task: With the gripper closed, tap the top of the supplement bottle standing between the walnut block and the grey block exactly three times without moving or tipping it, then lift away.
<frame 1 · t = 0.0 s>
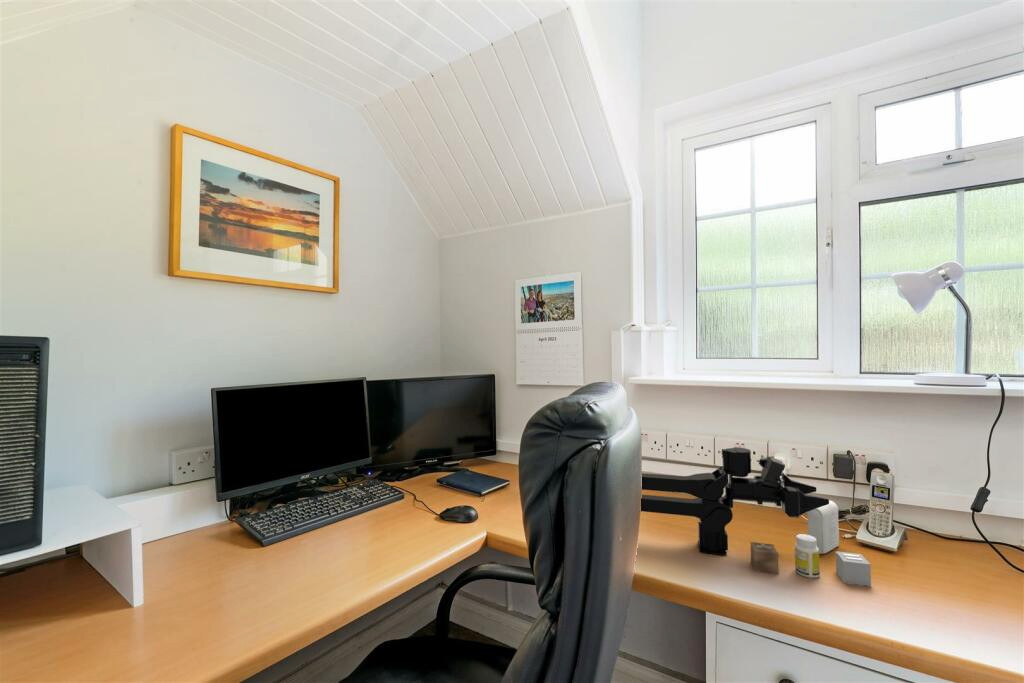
hand: (822, 495, 110), 17 cm above the table, tool horizontal, fingers open, 9 cm apart
grey block: (853, 579, 102), on the table
walnut block: (764, 568, 108), on the table
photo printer: (823, 548, 117), on the table
supplement bottle: (807, 574, 105), on the table
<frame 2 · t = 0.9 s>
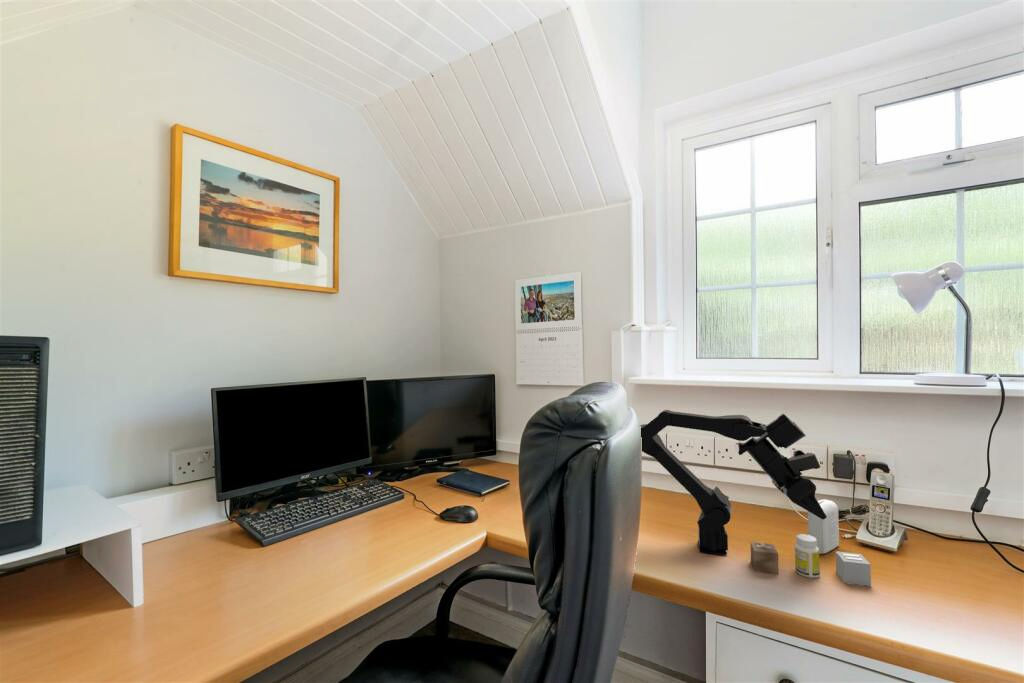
hand: (819, 513, 106), 13 cm above the table, tool tilted 40°, fingers open, 9 cm apart
nothing on the table moved.
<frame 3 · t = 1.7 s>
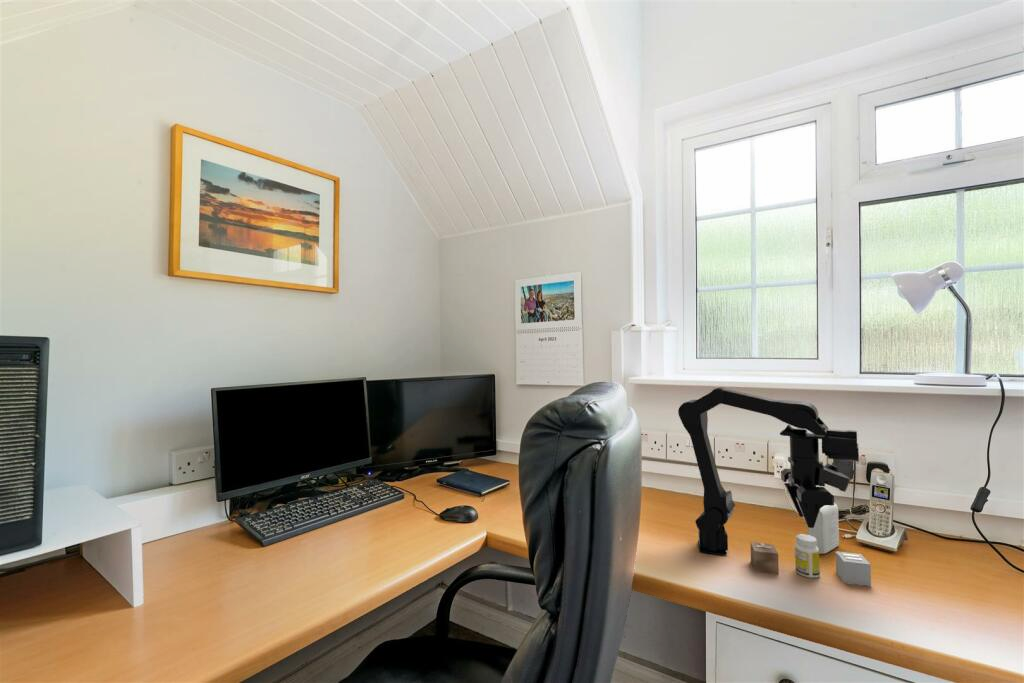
hand: (806, 521, 105), 12 cm above the table, tool pointing down, fingers open, 6 cm apart
nothing on the table moved.
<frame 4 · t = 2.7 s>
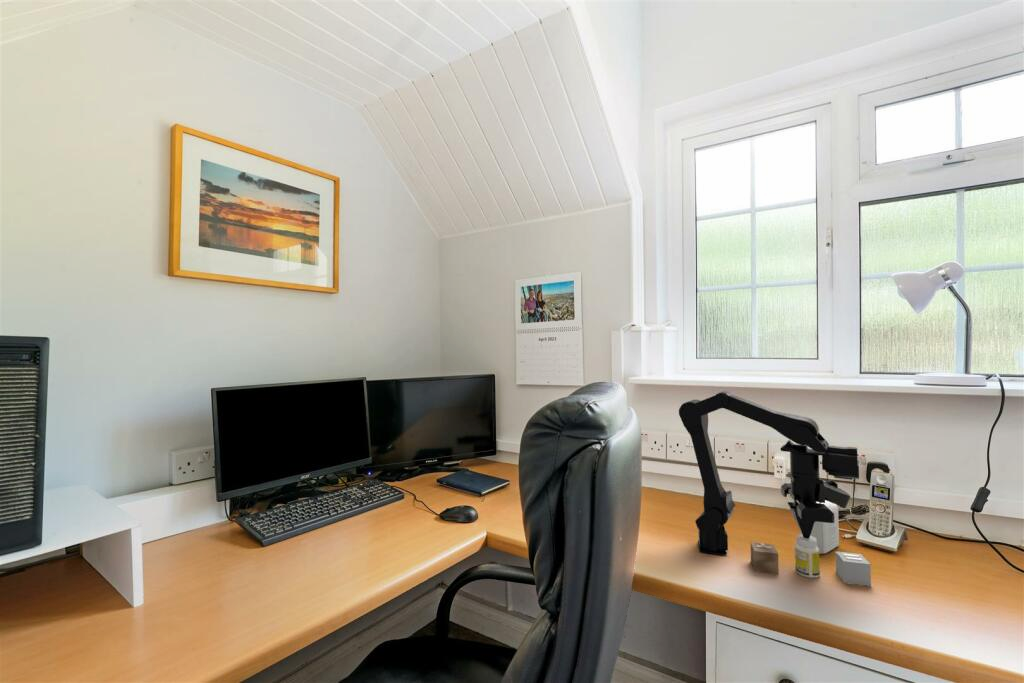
hand: (806, 537, 105), 8 cm above the table, tool pointing down, fingers closed, pressing on supplement bottle
supplement bottle: (807, 574, 105), on the table, touching gripper
everything else where it was.
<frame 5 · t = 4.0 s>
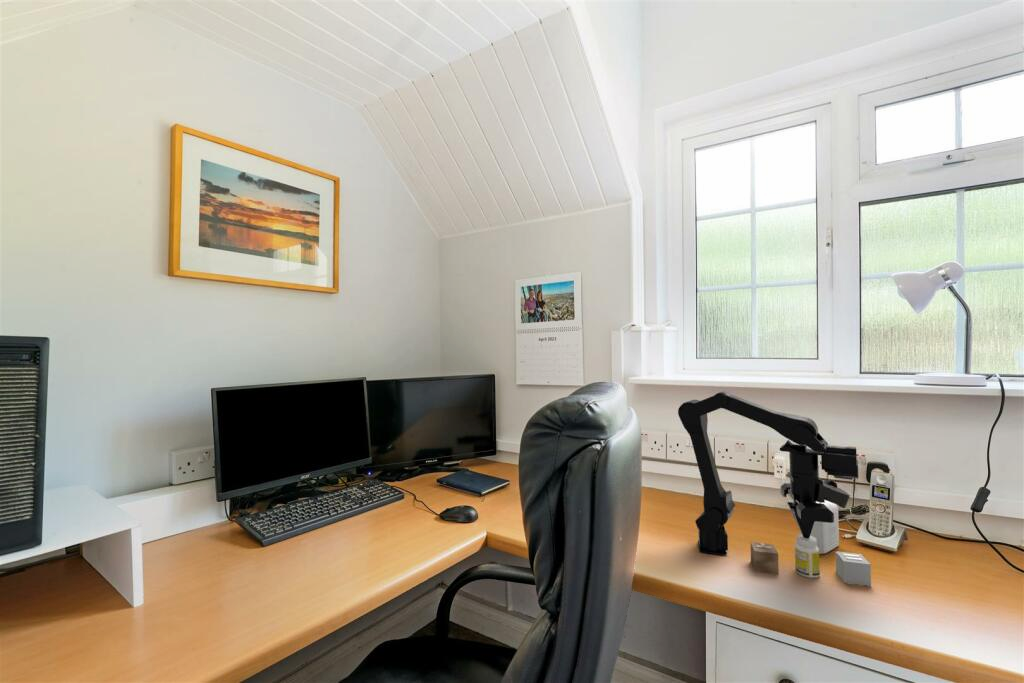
hand: (806, 537, 105), 8 cm above the table, tool pointing down, fingers closed, pressing on supplement bottle
supplement bottle: (807, 574, 105), on the table, touching gripper
everything else where it was.
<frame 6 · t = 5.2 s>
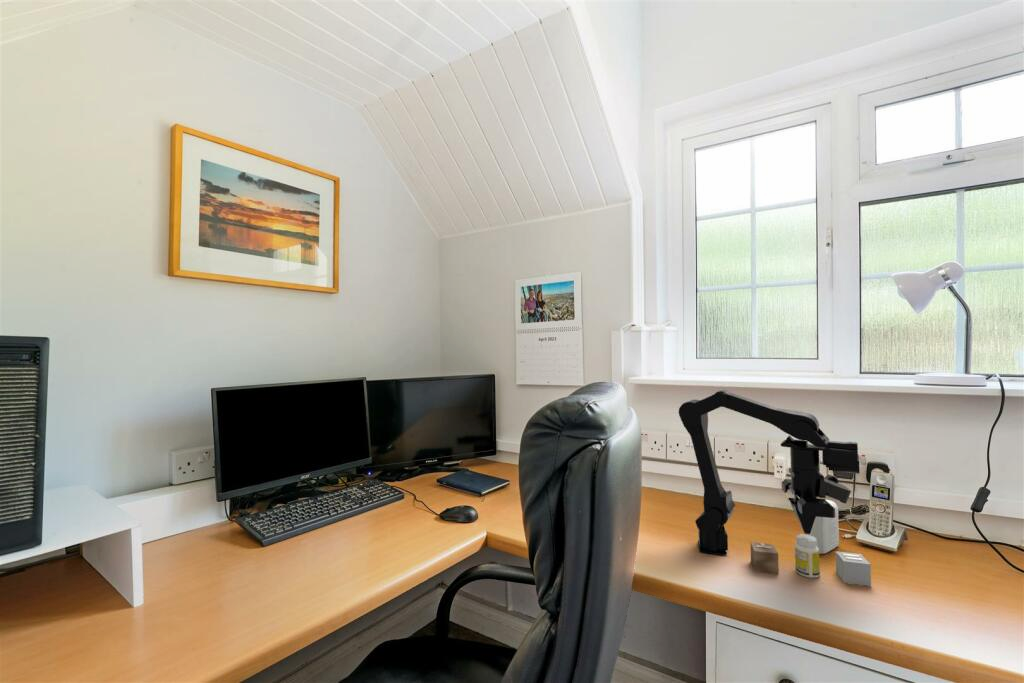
hand: (806, 533, 105), 9 cm above the table, tool pointing down, fingers closed
supplement bottle: (807, 574, 105), on the table
everything else where it was.
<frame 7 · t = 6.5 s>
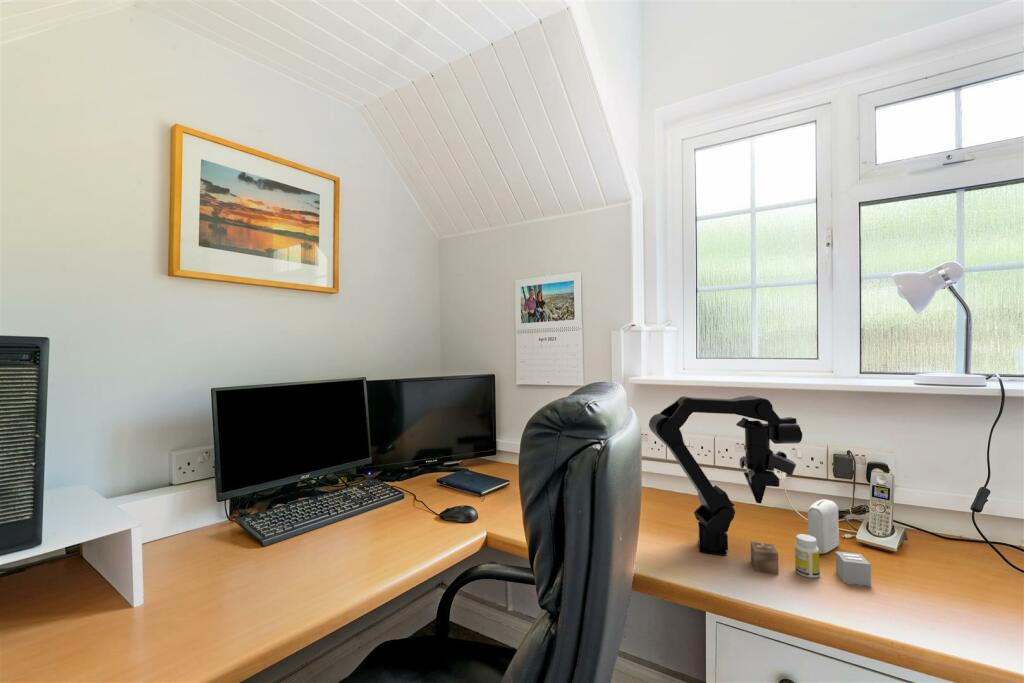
hand: (758, 502, 118), 12 cm above the table, tool pointing down, fingers closed
nothing on the table moved.
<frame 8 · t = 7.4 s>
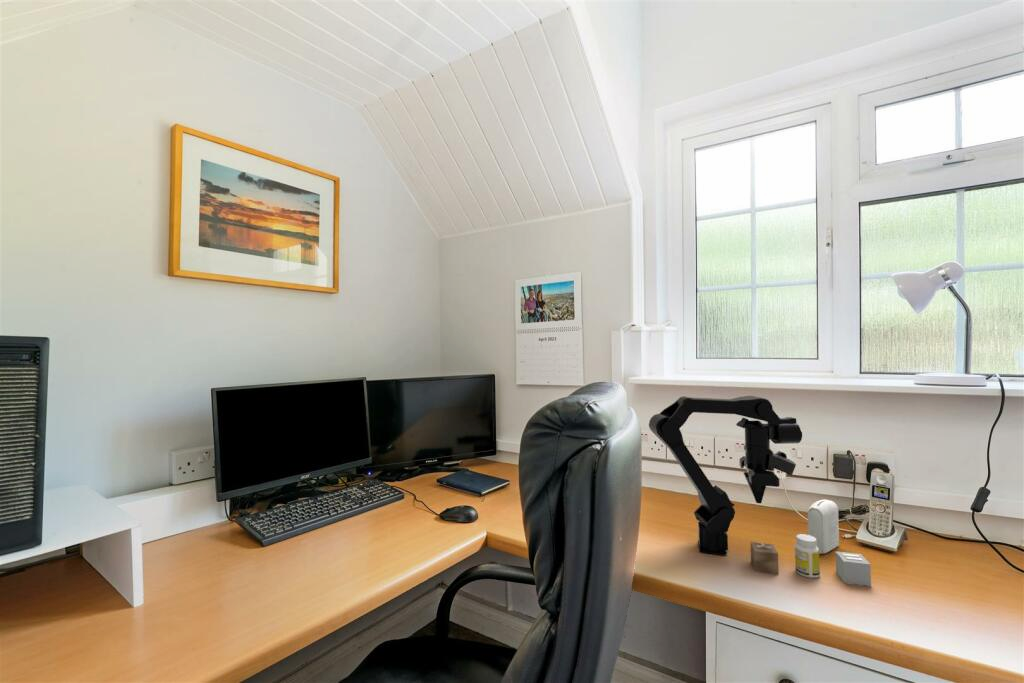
hand: (758, 502, 118), 12 cm above the table, tool pointing down, fingers closed
nothing on the table moved.
at the end: supplement bottle moved 0.2 cm from its start; supplement bottle tilted 0°; walnut block moved 0.1 cm from its start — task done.
